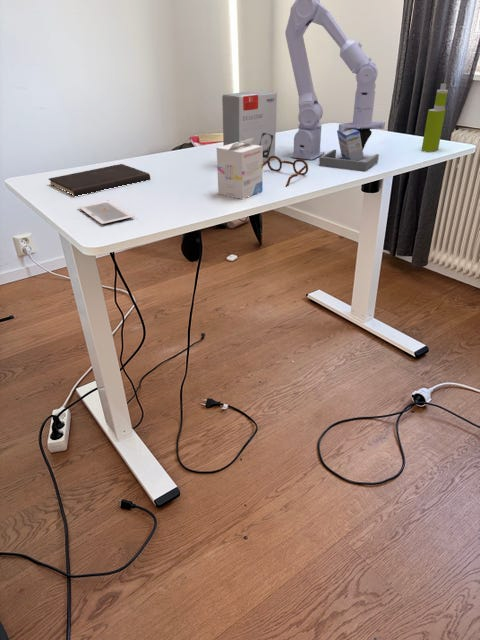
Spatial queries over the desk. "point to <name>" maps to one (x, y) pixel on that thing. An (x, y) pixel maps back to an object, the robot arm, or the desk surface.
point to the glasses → (288, 163)
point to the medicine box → (350, 144)
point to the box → (347, 162)
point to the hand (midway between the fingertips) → (358, 154)
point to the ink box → (240, 169)
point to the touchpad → (105, 212)
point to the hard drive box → (250, 119)
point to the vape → (435, 122)
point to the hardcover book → (99, 179)
